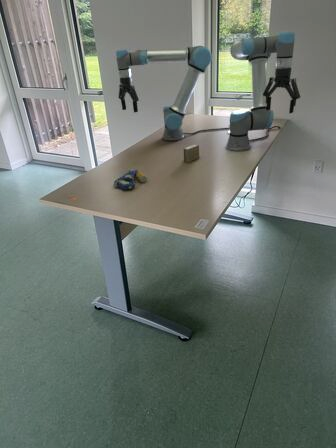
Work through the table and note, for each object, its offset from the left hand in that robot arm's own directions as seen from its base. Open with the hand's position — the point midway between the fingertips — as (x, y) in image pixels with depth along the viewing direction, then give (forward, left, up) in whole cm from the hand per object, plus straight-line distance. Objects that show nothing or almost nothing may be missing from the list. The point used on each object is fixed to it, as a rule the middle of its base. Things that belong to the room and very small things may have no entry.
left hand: (130, 110), depth 225 cm
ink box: (-18, +48, -25) cm, 57 cm away
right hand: (-51, +84, +4) cm, 99 cm away
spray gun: (+27, +56, -25) cm, 67 cm away
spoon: (-80, +10, -25) cm, 85 cm away
